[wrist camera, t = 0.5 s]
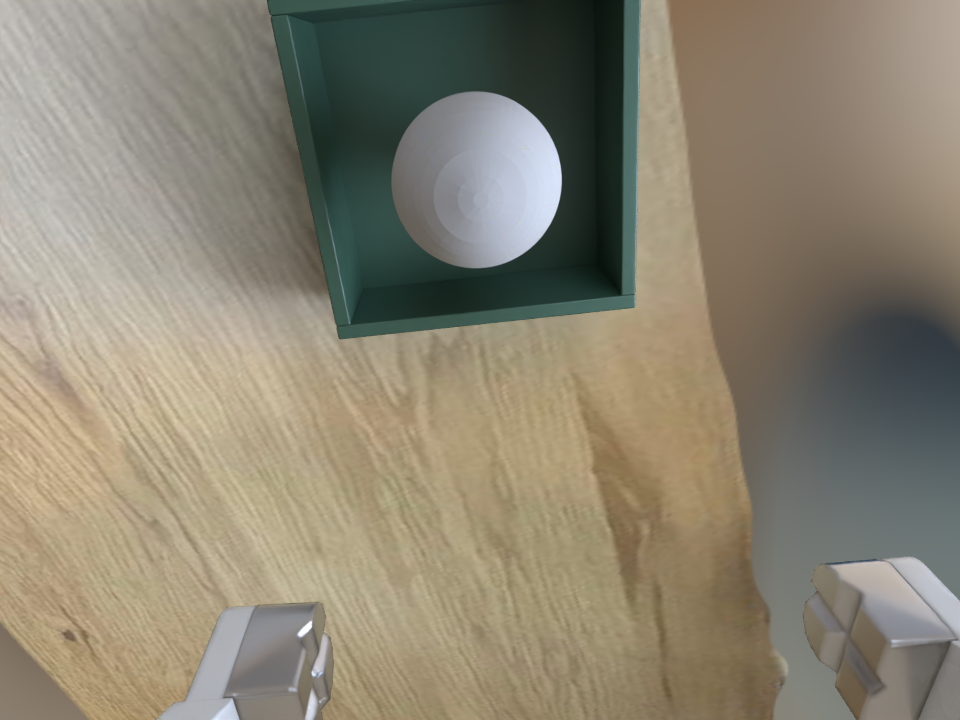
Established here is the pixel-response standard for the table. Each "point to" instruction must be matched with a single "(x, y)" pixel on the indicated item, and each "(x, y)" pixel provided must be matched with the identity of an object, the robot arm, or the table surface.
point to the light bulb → (476, 179)
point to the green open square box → (425, 80)
